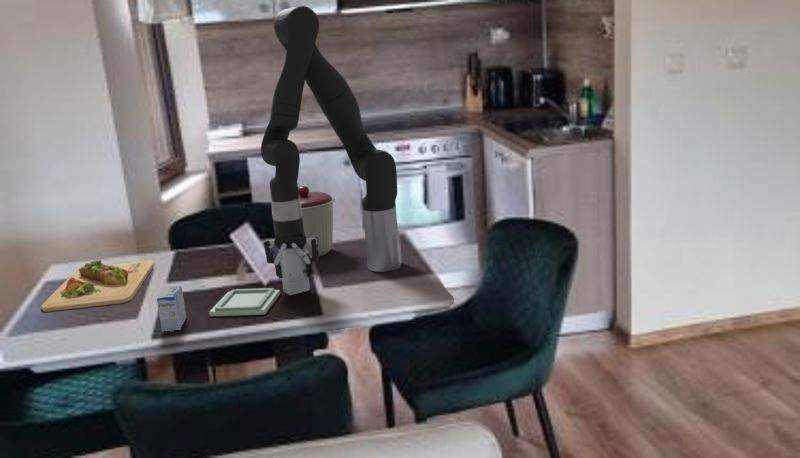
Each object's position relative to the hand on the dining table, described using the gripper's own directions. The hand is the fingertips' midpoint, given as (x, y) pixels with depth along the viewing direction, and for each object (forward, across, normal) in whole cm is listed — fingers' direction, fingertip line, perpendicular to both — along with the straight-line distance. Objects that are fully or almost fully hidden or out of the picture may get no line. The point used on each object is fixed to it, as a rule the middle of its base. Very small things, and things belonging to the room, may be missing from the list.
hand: (295, 276), depth 199 cm
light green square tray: (+4, +11, +9) cm, 15 cm away
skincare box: (+4, 0, 0) cm, 4 cm away
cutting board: (+5, +60, -11) cm, 61 cm away
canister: (+4, +4, -33) cm, 33 cm away
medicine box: (+4, +25, +21) cm, 33 cm away
